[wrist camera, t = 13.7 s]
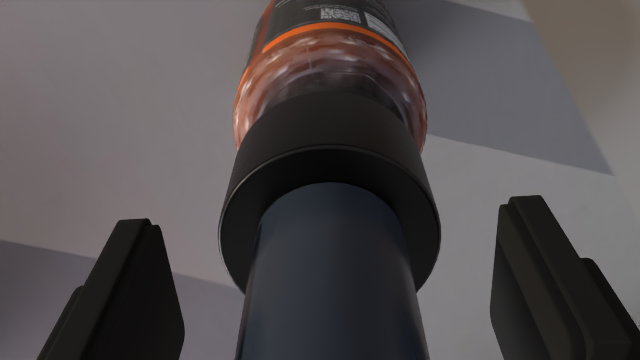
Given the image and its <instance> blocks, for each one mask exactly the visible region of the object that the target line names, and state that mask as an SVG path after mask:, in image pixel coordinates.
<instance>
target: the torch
mask: <svg viewBox="0 0 640 360" xmlns="http://www.w3.org/2000/svg"><path fill="white" fill-rule="evenodd" d="M218 243H219V251H220V254H221V258H222V261H223V264H224V266H225V268H226V270H227V273H228V274H229V276H230V278H231V279H232V281H233V282H234V284H235V285H236V286H237V287H238V289H239V290H240V291H241V292H242V293H243V294H244V295H245V300H244V306H243V312H242V318H241V324H240V330H239V336H238V342H237V348H236V354H235V360H430V357H429V352H428V347H427V343H426V338H425V333H424V328H423V324H422V319H421V314H420V309H419V304H418V300H417V295H416V293H417V292H418V290H419V289H420V288H421V287H422V286H423V284H424V283H425V282H426V280H427V279H428V277H429V275H430V274H431V272H432V270H433V267H434V265H435V263H436V261H437V257H438V254H439V250H440V243H441V224H440V219H439V214H438V210H437V207H436V204H435V201H434V198H433V194H432V191H431V188H430V185H429V182H428V178H427V175H426V172H425V169H424V166H423V163H422V159H421V156H420V153H419V150H418V147H417V145H416V142H415V140H414V138H413V137H412V135H411V133H410V131H409V130H408V129H407V127H406V126H405V125H404V123H403V122H402V121H401V120H400V119H399V118H398V117H397V116H396V115H395V114H394V113H392V112H391V111H389V110H388V109H387V108H385V107H384V106H382V105H380V104H379V103H377V102H375V101H373V100H371V99H368V98H365V97H363V96H360V95H356V94H352V93H348V92H340V91H318V92H310V93H305V94H301V95H298V96H294V97H292V98H289V99H287V100H284V101H282V102H281V103H279V104H277V105H275V106H273V107H272V108H271V109H269V110H268V111H267V112H265V113H264V114H263V115H262V116H261V117H260V118H259V119H257V120H256V121H255V122H254V124H253V125H252V126H251V128H250V129H249V130H248V131H247V133H246V135H245V137H244V138H243V140H242V142H241V144H240V147H239V150H238V152H237V156H236V160H235V163H234V167H233V171H232V175H231V178H230V182H229V186H228V190H227V193H226V197H225V201H224V204H223V208H222V212H221V216H220V221H219V225H218Z"/></svg>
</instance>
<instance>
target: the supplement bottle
mask: <svg viewBox="0 0 640 360" xmlns="http://www.w3.org/2000/svg"><path fill="white" fill-rule="evenodd" d="M318 91H340V92H348V93H352V94H356V95H360V96H363V97H365V98H368V99H371V100H373V101H375V102H377V103H379V104H380V105H382V106H384V107H385V108H387V109H388V110H389V111H391V112H392V113H394V114H395V115H396V116H397V117H398V118H399V119H400V120H401V121H402V122H403V123H404V125H405V126H406V127H407V129H408V130H409V131H410V133H411V135H412V137H413V138H414V140H415V142H416V145H417V147H418V150H419V153H420V154H421V153H422V150H423V146H424V143H425V138H426V131H427V111H426V103H425V99H424V95H423V92H422V89H421V86H420V84H419V82H418V79H417V76H416V74H415V72H414V70H413V67H412V65H411V63H410V61H409V58H408V56H407V53H406V51H405V49H404V47H403V44H402V42H401V39H400V37H399V35H398V33H397V30H396V28H395V25H394V23H393V21H392V19H391V17H390V15H389V14H388V12H387V10H386V9H385V7H384V5H383V4H382V3H381V2H380V1H379V0H272V2H271V3H270V4H269V5H268V7H267V8H266V10H265V11H264V13H263V14H262V16H261V18H260V20H259V22H258V24H257V27H256V31H255V34H254V37H253V40H252V44H251V47H250V51H249V54H248V57H247V60H246V64H245V67H244V70H243V73H242V77H241V80H240V84H239V87H238V90H237V95H236V98H235V102H234V109H233V133H234V138H235V143H236V146H237V150H239V147H240V144H241V142H242V140H243V138H244V137H245V135H246V133H247V131H248V130H249V129H250V128H251V126H252V125H253V124H254V122H255V121H256V120H257V119H259V118H260V117H261V116H262V115H263V114H264V113H265V112H267V111H268V110H269V109H271V108H272V107H273V106H275V105H277V104H279V103H281V102H282V101H284V100H287V99H289V98H292V97H294V96H298V95H301V94H305V93H310V92H318Z"/></svg>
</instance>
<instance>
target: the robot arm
mask: <svg viewBox="0 0 640 360" xmlns="http://www.w3.org/2000/svg"><path fill="white" fill-rule="evenodd" d="M490 317H491V323H492V326H493V329H494V332H495V335H496V338H497V340H498V343H499V346H500V349H501V352H502V355H503V357H504V360H640V331H639V329H638V328H637V326H636V324H635V323H634V321H633V320H632V318H631V317H630V315H629V314H628V312H627V311H626V309H625V307H624V306H623V304H622V303H621V301H620V300H619V298H618V297H617V295H616V294H615V292H614V291H613V289H612V287H611V286H610V284H609V283H608V281H607V280H606V278H605V277H604V275H603V274H602V272H601V270H600V269H599V267H598V266H597V264H596V263H595V262H594V261H593V260H592V259H590V258H580V257H579V256H578V254H577V252H576V251H575V249H574V248H573V246H572V244H571V243H570V241H569V239H568V238H567V236H566V235H565V233H564V231H563V230H562V228H561V227H560V225H559V223H558V222H557V220H556V218H555V217H554V215H553V214H552V212H551V210H550V209H549V207H548V206H547V204H546V202H545V201H544V199H543V198H542V197H541V196H540V195H533V196H516V197H511V198H510V199H509V202H508V204H503V205H500V208H499V214H498V225H497V236H496V247H495V258H494V269H493V280H492V291H491V302H490ZM184 335H185V329H184V321H183V317H182V313H181V309H180V305H179V301H178V297H177V293H176V289H175V285H174V281H173V276H172V272H171V268H170V264H169V260H168V256H167V252H166V248H165V244H164V240H163V236H162V231H161V228H160V227H159V225H152V224H151V222H150V220H149V219H147V218H145V219H128V220H119V221H118V222H117V224H116V226H115V228H114V229H113V231H112V233H111V235H110V237H109V239H108V241H107V243H106V245H105V246H104V248H103V250H102V252H101V254H100V256H99V258H98V260H97V262H96V263H95V265H94V267H93V269H92V271H91V273H90V275H89V277H88V278H87V280H86V282H85V284H84V286H80V287H78V288H76V290H75V291H74V292H73V294H72V295H71V297H70V299H69V301H68V303H67V305H66V306H65V308H64V310H63V312H62V314H61V316H60V317H59V319H58V321H57V323H56V325H55V327H54V328H53V330H52V332H51V334H50V336H49V338H48V339H47V341H46V343H45V345H44V347H43V349H42V350H41V352H40V354H39V356H38V358H37V360H179V357H180V353H181V350H182V346H183V342H184Z"/></svg>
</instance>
